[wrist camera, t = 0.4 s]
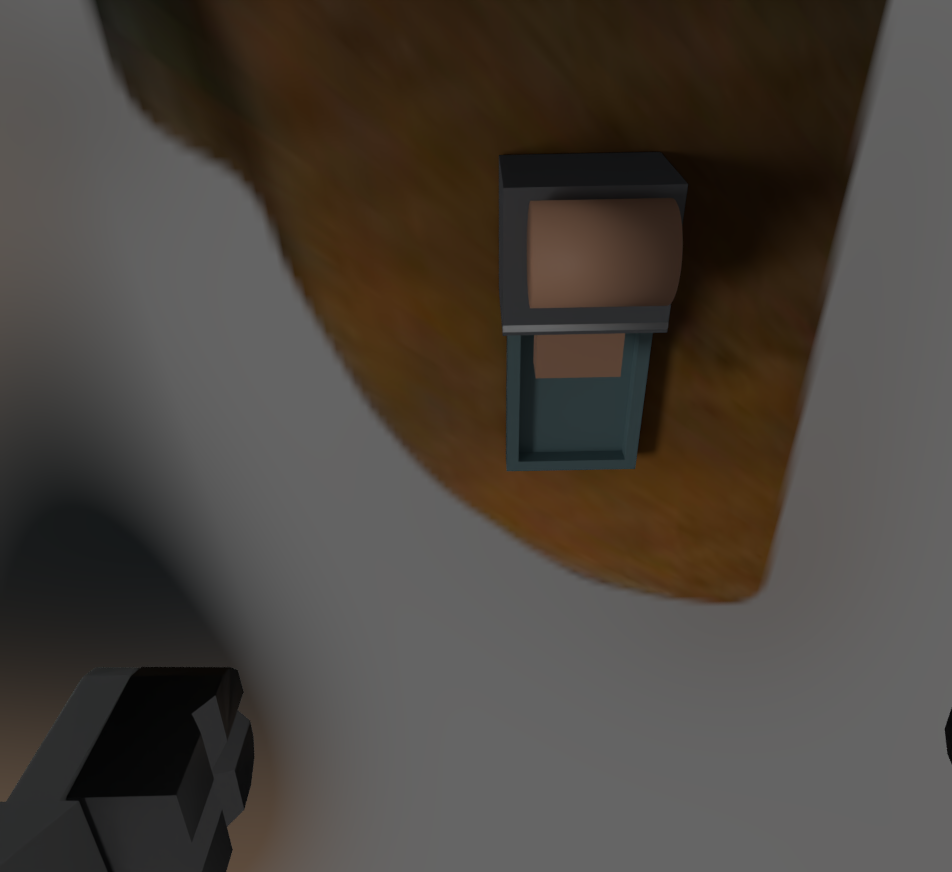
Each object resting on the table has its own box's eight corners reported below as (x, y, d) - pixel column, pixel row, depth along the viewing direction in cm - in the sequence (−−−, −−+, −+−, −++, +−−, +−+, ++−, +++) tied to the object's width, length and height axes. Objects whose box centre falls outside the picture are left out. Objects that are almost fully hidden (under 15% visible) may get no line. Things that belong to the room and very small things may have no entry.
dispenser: (498, 155, 41) (507, 221, 32) (660, 151, 41) (716, 217, 32) (499, 290, 46) (506, 382, 36) (644, 287, 46) (689, 379, 36)
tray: (507, 304, 46) (507, 314, 45) (650, 301, 46) (655, 311, 45) (506, 458, 53) (506, 471, 52) (631, 456, 53) (635, 468, 52)
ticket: (537, 216, 40) (540, 228, 38) (629, 214, 40) (636, 226, 38) (533, 362, 45) (535, 378, 44) (614, 360, 45) (620, 376, 44)
